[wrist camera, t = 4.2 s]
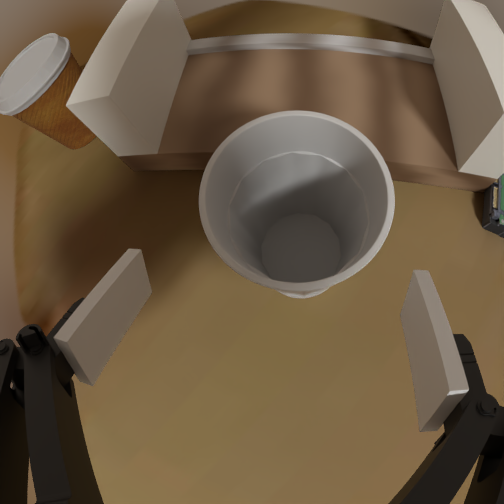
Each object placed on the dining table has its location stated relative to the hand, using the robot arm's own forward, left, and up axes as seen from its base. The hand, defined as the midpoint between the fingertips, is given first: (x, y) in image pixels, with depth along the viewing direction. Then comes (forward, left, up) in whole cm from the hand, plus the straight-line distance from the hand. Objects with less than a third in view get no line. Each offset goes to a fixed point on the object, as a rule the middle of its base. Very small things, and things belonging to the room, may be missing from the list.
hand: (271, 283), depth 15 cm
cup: (+2, -3, -9) cm, 10 cm away
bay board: (+14, -10, -9) cm, 19 cm away
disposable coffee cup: (+26, +12, -9) cm, 31 cm away
